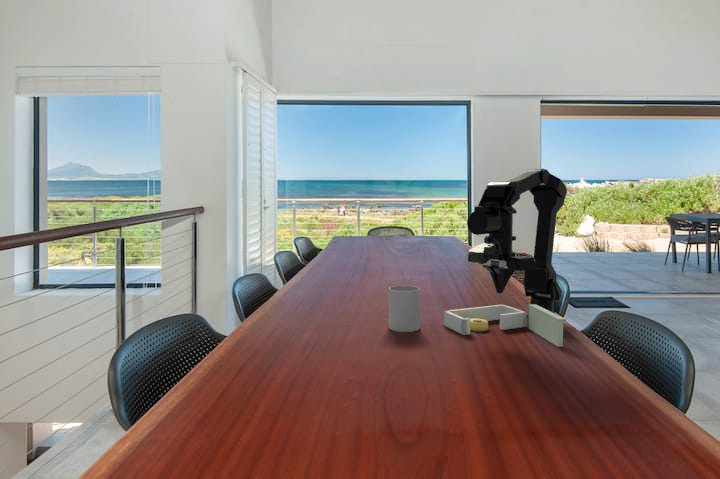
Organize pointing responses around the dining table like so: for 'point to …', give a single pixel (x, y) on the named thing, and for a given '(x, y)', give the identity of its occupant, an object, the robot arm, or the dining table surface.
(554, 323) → the cover
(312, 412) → the dining table surface
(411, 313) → the mug
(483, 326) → the cord coil
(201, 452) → the dining table surface
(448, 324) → the white open pen
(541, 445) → the dining table surface
